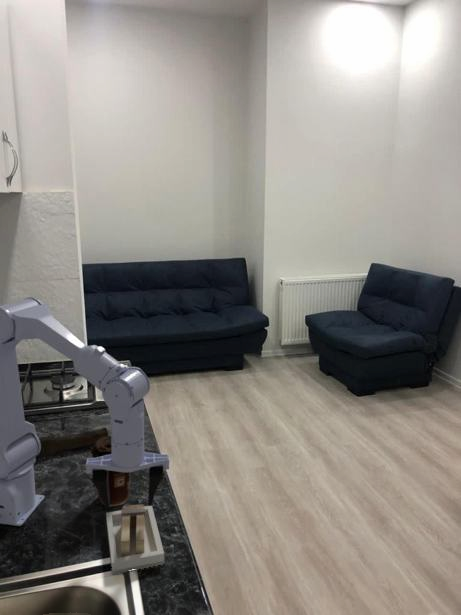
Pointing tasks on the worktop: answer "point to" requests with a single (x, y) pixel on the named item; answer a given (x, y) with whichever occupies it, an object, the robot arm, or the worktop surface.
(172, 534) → the worktop surface
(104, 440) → the coffee cup
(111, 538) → the tray
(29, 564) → the worktop surface
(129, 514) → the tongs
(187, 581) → the worktop surface
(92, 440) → the hand tool
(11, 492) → the robot arm
